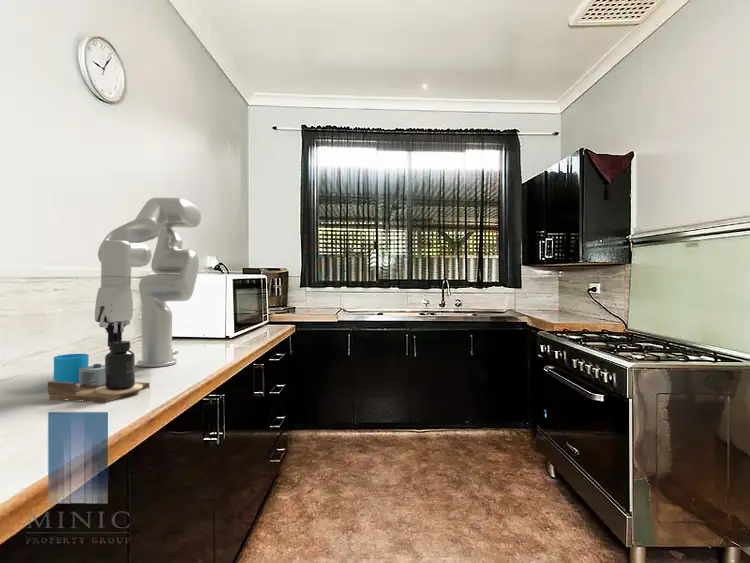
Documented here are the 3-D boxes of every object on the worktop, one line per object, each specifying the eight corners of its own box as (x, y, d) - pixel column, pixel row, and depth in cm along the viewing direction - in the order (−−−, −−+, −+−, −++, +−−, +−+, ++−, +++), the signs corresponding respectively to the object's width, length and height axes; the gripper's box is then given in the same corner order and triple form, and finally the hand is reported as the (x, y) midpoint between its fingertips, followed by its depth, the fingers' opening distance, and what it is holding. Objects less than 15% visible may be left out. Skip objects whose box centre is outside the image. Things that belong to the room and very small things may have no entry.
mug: (81, 387, 125) (81, 358, 124) (47, 389, 123) (48, 359, 123) (97, 378, 136) (98, 351, 136) (67, 379, 134) (67, 351, 134)
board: (97, 384, 128) (97, 369, 128) (157, 387, 125) (157, 372, 125) (47, 399, 112) (47, 382, 112) (115, 403, 109) (115, 386, 109)
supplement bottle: (129, 383, 123) (130, 339, 123) (138, 387, 119) (138, 341, 118) (101, 387, 118) (101, 341, 118) (109, 392, 114) (109, 344, 114)
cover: (96, 379, 127) (96, 361, 127) (115, 380, 126) (115, 362, 126) (78, 384, 121) (78, 365, 121) (98, 385, 120) (98, 366, 120)
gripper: (122, 283, 138) (121, 343, 138) (83, 282, 123) (82, 349, 123) (145, 283, 137) (143, 344, 136) (108, 282, 122) (106, 350, 122)
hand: (114, 346), depth 130 cm, fingers closed
